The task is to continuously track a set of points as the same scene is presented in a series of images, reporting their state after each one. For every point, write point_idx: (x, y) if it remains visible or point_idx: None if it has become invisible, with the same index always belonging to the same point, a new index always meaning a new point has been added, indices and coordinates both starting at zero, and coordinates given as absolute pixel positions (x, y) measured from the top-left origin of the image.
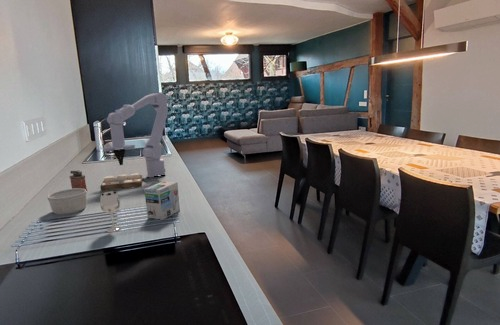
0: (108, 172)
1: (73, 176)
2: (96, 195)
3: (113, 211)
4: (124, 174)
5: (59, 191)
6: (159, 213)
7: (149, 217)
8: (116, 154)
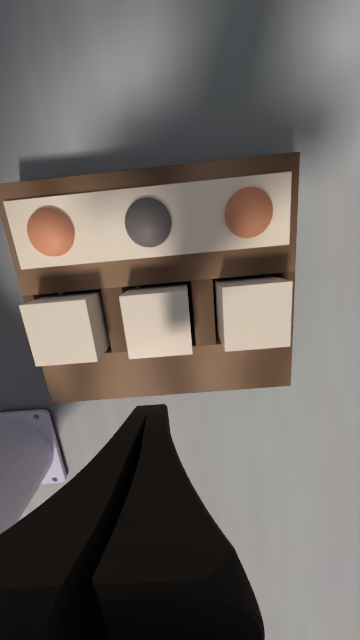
0: (289, 594)
1: None
2: (302, 44)
3: None
4: (145, 357)
5: None
6: None
7: None
8: (176, 522)
